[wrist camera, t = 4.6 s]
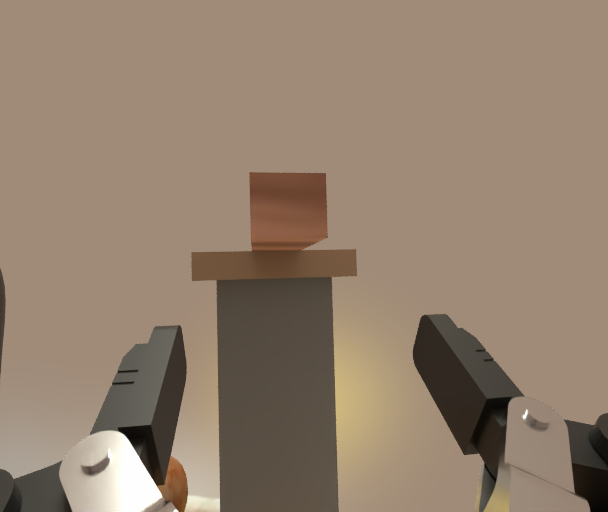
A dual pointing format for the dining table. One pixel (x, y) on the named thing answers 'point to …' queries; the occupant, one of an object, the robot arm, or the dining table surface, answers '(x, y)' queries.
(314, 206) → the batten
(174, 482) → the onion
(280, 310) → the stand
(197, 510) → the dining table surface
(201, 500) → the dining table surface
